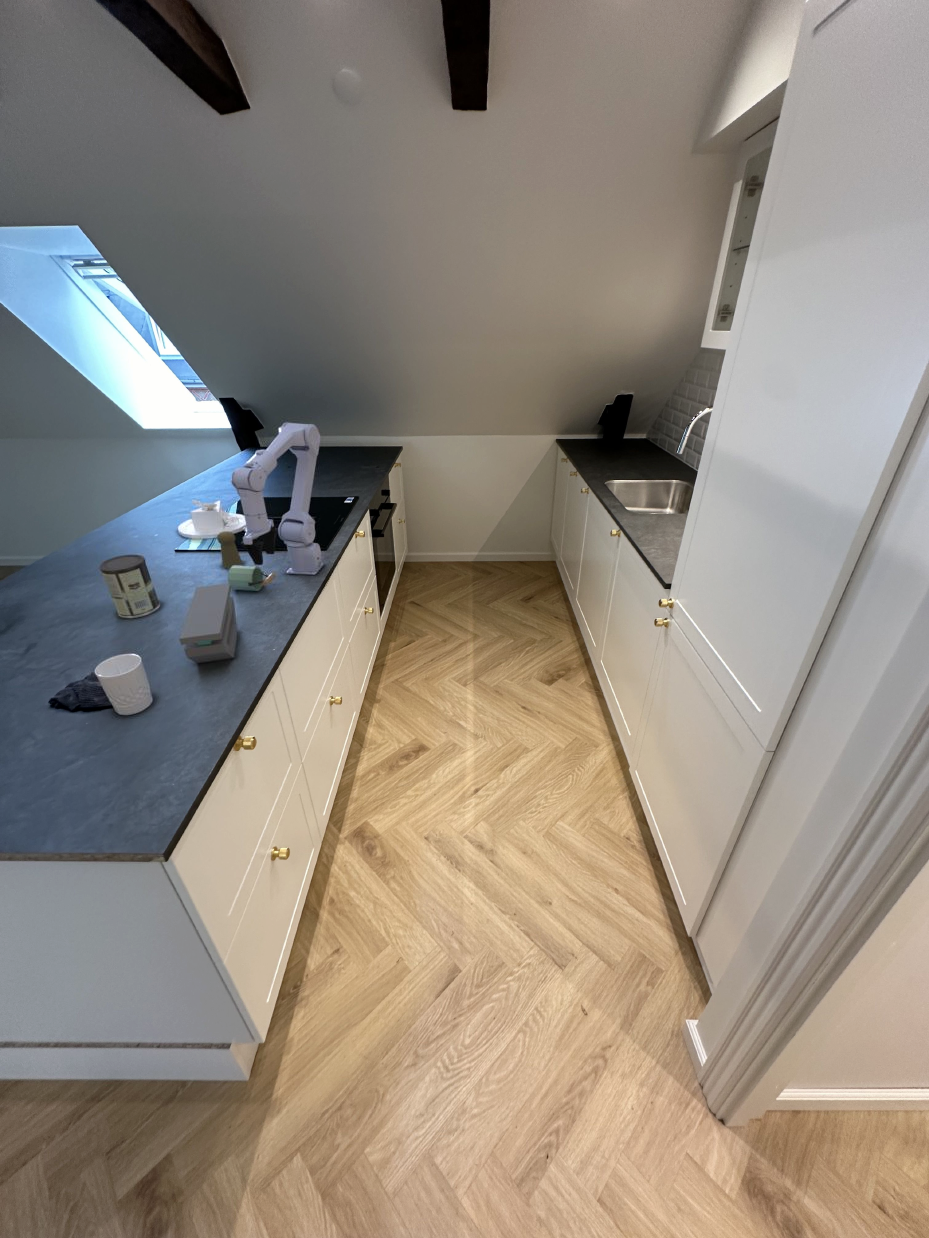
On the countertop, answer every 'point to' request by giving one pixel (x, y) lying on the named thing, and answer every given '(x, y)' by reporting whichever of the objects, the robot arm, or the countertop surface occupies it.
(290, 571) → the robot arm
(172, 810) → the countertop surface
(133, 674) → the white cup
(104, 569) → the coffee can
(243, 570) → the bucket
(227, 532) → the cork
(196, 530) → the dish
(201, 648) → the grey box
